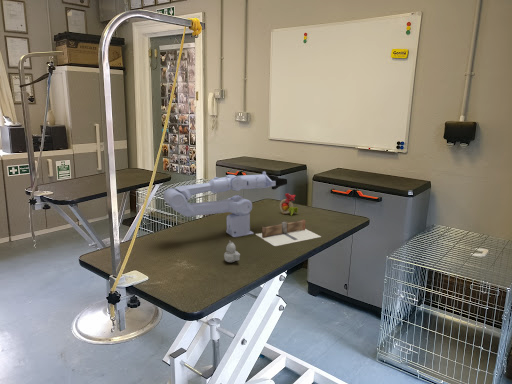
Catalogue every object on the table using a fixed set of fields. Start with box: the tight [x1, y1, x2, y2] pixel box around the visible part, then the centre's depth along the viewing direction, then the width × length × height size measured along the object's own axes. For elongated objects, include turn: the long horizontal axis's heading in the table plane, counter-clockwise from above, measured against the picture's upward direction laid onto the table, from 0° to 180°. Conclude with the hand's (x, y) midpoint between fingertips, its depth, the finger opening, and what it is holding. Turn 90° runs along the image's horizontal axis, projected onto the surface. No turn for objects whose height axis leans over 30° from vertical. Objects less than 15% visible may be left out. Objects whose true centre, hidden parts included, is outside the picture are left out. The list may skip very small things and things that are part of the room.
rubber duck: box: [223, 240, 241, 263], centre depth 140 cm, size 5×7×8 cm
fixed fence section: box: [261, 221, 288, 239], centre depth 166 cm, size 11×2×5 cm, turn 118°
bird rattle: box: [279, 193, 299, 217], centre depth 196 cm, size 6×11×9 cm
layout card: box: [255, 228, 322, 247], centre depth 166 cm, size 22×16×1 cm
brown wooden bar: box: [287, 219, 306, 232], centre depth 170 cm, size 9×2×4 cm, turn 118°
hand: (282, 180), depth 174 cm, fingers open, 7 cm apart
